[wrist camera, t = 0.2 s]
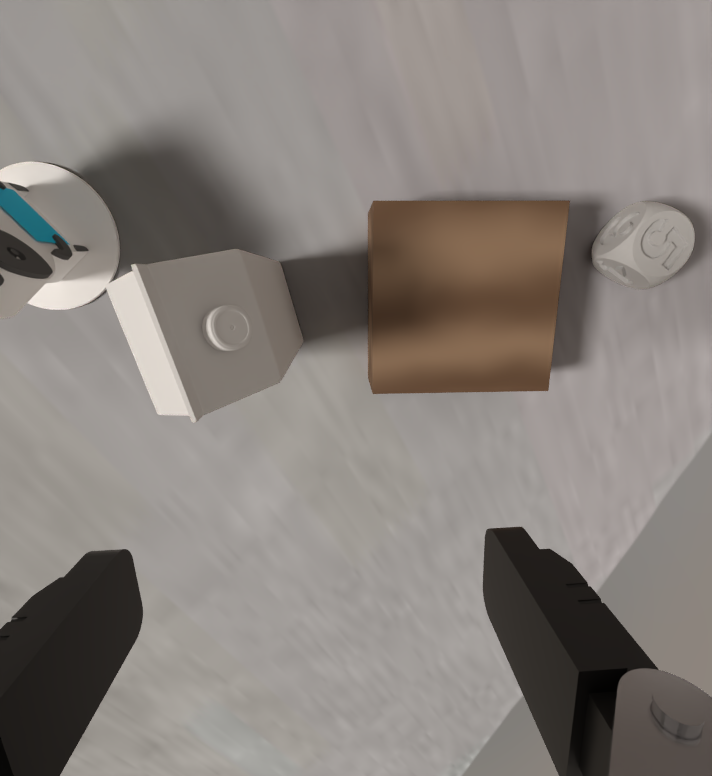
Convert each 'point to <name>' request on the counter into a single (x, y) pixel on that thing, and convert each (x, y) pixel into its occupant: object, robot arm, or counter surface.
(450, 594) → the counter surface
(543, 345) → the walnut block
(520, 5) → the counter surface
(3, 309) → the white device on stand
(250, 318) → the milk carton
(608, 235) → the die
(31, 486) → the counter surface
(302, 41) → the counter surface
